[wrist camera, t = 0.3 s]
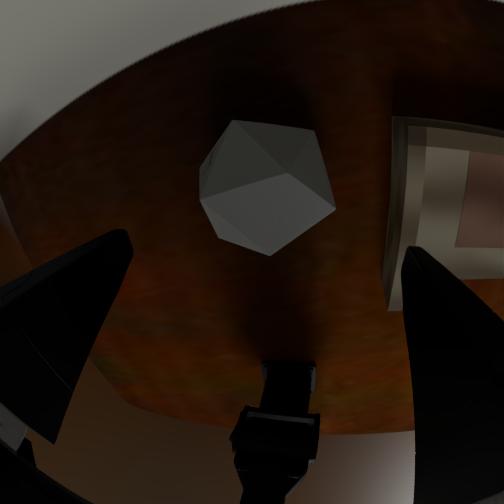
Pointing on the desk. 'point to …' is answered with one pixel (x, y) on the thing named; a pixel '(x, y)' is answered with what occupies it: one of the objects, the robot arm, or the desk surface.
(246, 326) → the desk surface
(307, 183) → the grey polyhedron
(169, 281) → the desk surface
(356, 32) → the desk surface
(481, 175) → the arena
